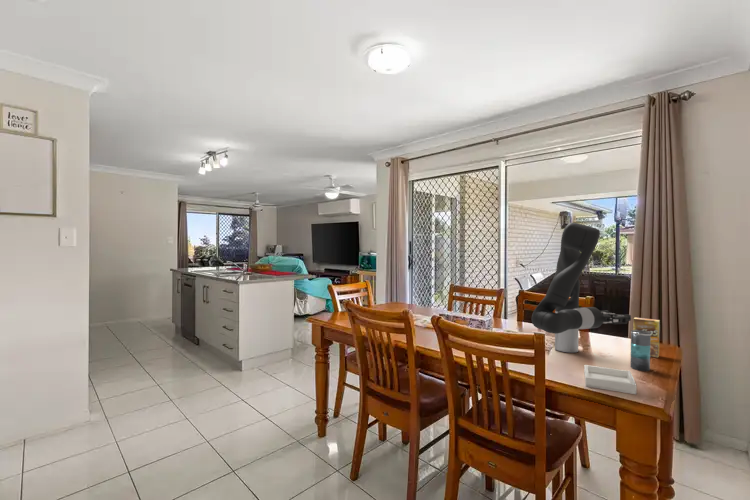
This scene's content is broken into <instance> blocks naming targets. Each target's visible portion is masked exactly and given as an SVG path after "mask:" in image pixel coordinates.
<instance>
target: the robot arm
mask: <svg viewBox="0 0 750 500" xmlns="http://www.w3.org/2000/svg"><path fill="white" fill-rule="evenodd" d="M600 235H601V233H600V230H599V229H598V228H596V227H592V226H590V225H585V224H582V223H578V222H570V223H568V224H567V225H566V226H565V227H564V229H563V231H562V234H561V238H560V239H561V240H560V252H559V255H558V258H557V263H556V270H555V273H554V276H553V278H552V280H551V282H550V284H549V286H548V289H547V291H546V293H545V296H544V297H543V298H542V300H541V301H540V302H539V304H538V305H537V306H536V307H535V309H534V310H533V311H532V315H531V323H532V325H533V326H534V327H535V328H536V329H540V330H541V331H544V332H546V333H549V334H554V351H558V352H564V353H570V354H571V353H574V354H575V353H577V352H579V330H586V329H589V330H590V329H598V328H600V327H601V326H602V325H603V324H612V325H626V324H628V322H630V321H632V316H631V315H630V314H616V313H614V312H613V313H612V312H610V311H609V310H600V309H598V308H597V307H595V306H588V307H587V306H586V307H579V306H580V290H581V289H580V288H581V287H580V286H581V281H580V279H579V278H580V276H581V274H582V273H583V272H584V269H585V268H586V266H587V264H588V263H589V260H590V259H591V257H592V255H593V253H594V251H595V249H596V247H597V244H598V242H599V240H600Z"/></svg>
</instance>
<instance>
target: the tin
mask: <svg viewBox="0 0 750 500" xmlns="http://www.w3.org/2000/svg"><path fill="white" fill-rule="evenodd" d="M650 339H651V333H650V332H647V331H642V330H633V329H632V330H630V363H629V364H630V368H631V369H633V370H636V371H641V372H649V371H650V370H651V356H650Z"/></svg>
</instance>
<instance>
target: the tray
mask: <svg viewBox="0 0 750 500" xmlns="http://www.w3.org/2000/svg"><path fill="white" fill-rule="evenodd" d="M583 368H584V371H583V375H584V382H585V387H588V388H593V389H594V388H595V389H600V390H606V391H614V392H619V393H623V394H624V393H625V394H631V395H637V383H636V380H635V379H634V377H633V375H632V372H631V370H625V369H619V368H612V367H605V366H604V367H603V366H596V365H590V364H589V365H588V364H584V365H583Z"/></svg>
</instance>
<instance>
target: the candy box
mask: <svg viewBox="0 0 750 500" xmlns="http://www.w3.org/2000/svg"><path fill="white" fill-rule="evenodd" d="M660 321H661V320H660V319H656V318H655V319H654V318H653V319H652V318H646V317H645V318H644V317H636V316H634V318H633V322H632V323H633V324H632V325H633V328H632V330H642V331H647V332H650V333H651V339H650V357H653V358H659V356H660V331H661V330H660V328H661V327H660V326H661V325H660V323H661V322H660Z"/></svg>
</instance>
